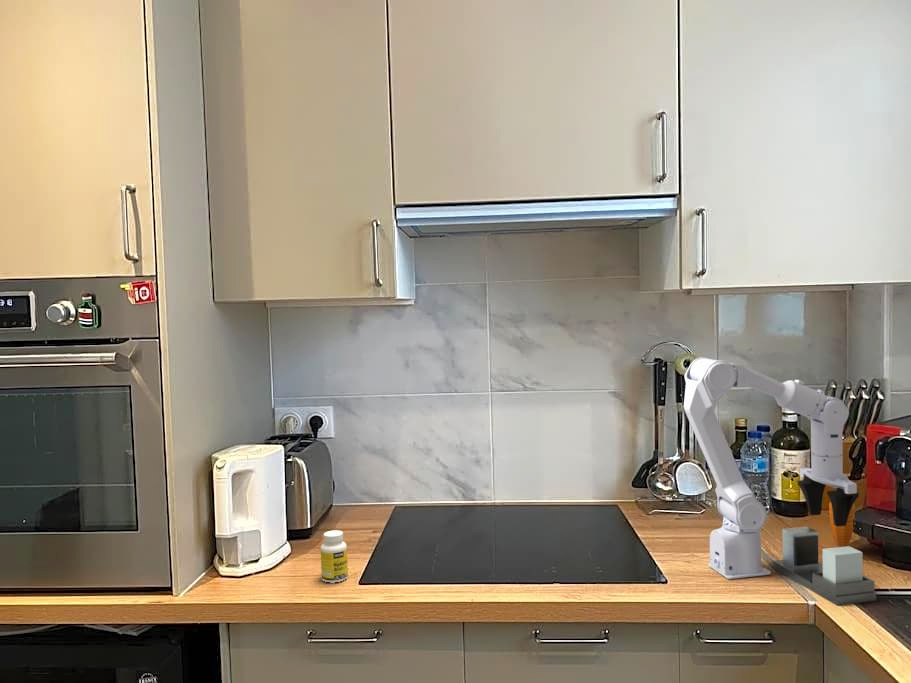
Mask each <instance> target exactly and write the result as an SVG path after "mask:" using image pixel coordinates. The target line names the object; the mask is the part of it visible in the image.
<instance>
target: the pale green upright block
mask: <svg viewBox="0 0 911 683" xmlns="http://www.w3.org/2000/svg"><path fill="white" fill-rule="evenodd" d="M863 554H864V553H863V552H862V551H861V550H858V549H856V548H854V547H851V546H850V545H848V546H846V547H838V546H837V547H836V546H835V547H830V548H829V547H827V548H822V565H823V577H824V578H826V579H828V580H830V581H832V582H834V583H835V584H840V583H848V582H857V581H863V576H864V574H863V573H864V572H863V571H864V570H863V568H864V567H863V566H864V564H863V562H864V561H863V557H864V556H863Z"/></svg>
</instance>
